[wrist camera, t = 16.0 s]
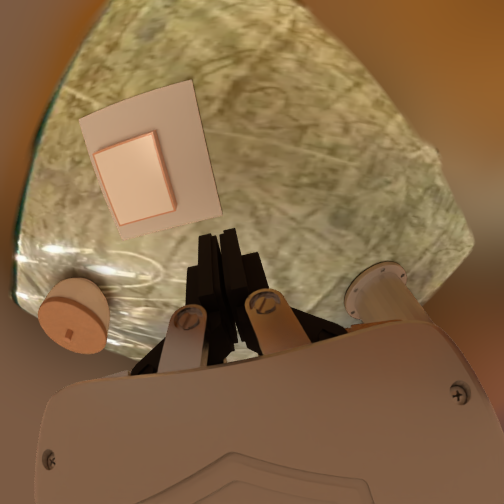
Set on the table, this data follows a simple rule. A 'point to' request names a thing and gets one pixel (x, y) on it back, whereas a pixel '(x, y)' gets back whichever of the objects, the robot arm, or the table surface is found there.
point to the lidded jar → (76, 315)
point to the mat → (173, 149)
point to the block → (136, 178)
